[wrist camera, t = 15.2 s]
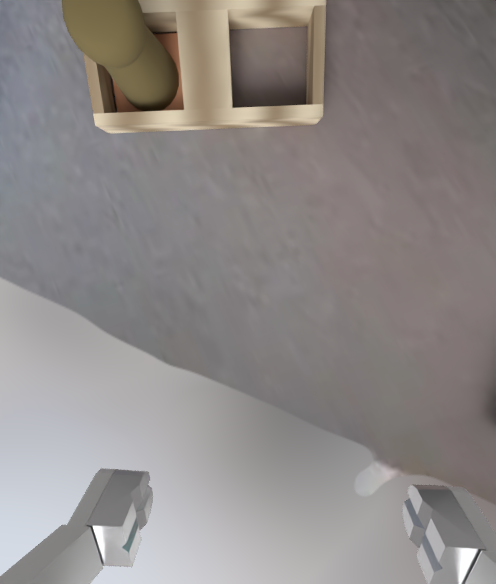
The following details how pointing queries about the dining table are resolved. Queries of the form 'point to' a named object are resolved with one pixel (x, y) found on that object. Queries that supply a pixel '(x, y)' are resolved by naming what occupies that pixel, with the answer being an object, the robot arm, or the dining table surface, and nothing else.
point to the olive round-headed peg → (124, 49)
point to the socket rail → (213, 66)
